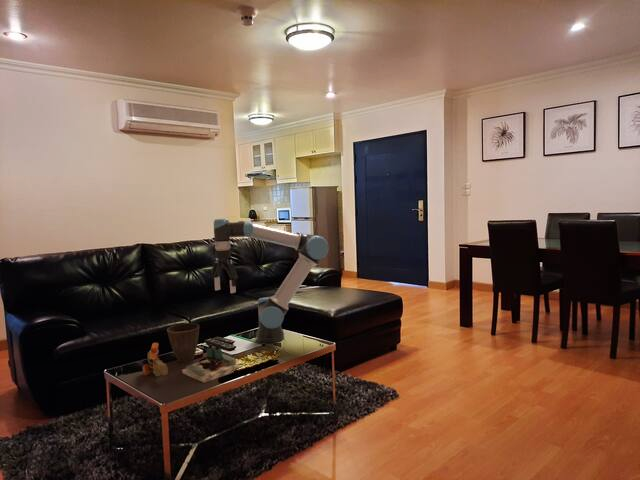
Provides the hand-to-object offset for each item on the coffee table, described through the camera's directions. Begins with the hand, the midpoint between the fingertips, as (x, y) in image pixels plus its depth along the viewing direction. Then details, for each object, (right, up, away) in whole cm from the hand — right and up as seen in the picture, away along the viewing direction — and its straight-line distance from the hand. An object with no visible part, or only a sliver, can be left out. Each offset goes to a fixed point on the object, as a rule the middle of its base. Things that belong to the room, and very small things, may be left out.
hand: (225, 291), depth 223 cm
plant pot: (-18, -32, -9) cm, 38 cm away
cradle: (-1, -33, -26) cm, 42 cm away
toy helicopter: (-23, -34, -29) cm, 51 cm away
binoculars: (-1, -32, -26) cm, 41 cm away
